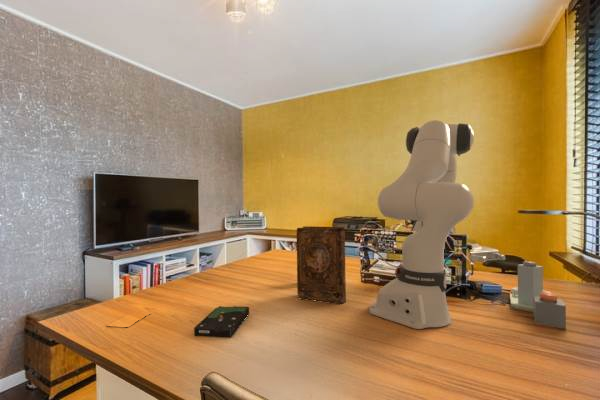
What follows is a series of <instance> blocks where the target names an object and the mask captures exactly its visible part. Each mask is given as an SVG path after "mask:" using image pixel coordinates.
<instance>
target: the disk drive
mask: <svg viewBox="0 0 600 400" xmlns="http://www.w3.org/2000/svg"><path fill="white" fill-rule="evenodd" d="M248 314H249V315H250V307H249V306H222V305H219V306H218V307H216V308H214V309H213V310H212V311H211V312H210V313H208V315H207V316H205V318H203V319H202V320H201V321H200V322H199V323H198V324H197V325H196V326H195V327H194V328H193V333H194V335H195V336H194V337H206V338H207V337H209V338H223V339H225V338H226V339H227V338H229V339H231V338H233V336H235V334H236V332H237V330H238V329H239V328H240V327H241V326H242V324H243V323H244V322H245V320H246V319H247V318H248V316H249V315H248ZM247 315H248V316H247ZM246 317H247V318H246ZM245 318H246V319H245ZM244 319H245V320H244ZM243 321H244V322H243ZM242 322H243V323H242ZM240 325H241V326H240ZM239 326H240V327H239Z"/></svg>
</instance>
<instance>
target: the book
mask: <svg viewBox="0 0 600 400" xmlns="http://www.w3.org/2000/svg"><path fill="white" fill-rule="evenodd" d="M296 265H297V266H296V272H297V273H296V279H297V280H296V281H297V282H296V283H297V286H296V287H297V291H296V292H297V297H298V299H299V298H301V299H300V300H303V299H308V300H307V301H309V300H316V301H315V302H317V301H322V302H321V303H325V302H329V303H328V304H332V303H336V304H335V305H340V304H341V305H344V304H346V302H347V290H346V289H347V287H346V286H347V283H346V277H347V276H346V229H345V227H344V226H309V225H305V226H302V227H297V228H296Z"/></svg>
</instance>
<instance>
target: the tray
mask: <svg viewBox="0 0 600 400" xmlns="http://www.w3.org/2000/svg"><path fill="white" fill-rule="evenodd" d="M509 300H510V302H509V303H510V308H511V309H514V310H519V311H525V312H532V313H533V306H528V305H525V304H522V303H519V302H518V295H514V294H511V293H510V294H509Z"/></svg>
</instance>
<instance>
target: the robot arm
mask: <svg viewBox="0 0 600 400" xmlns="http://www.w3.org/2000/svg"><path fill="white" fill-rule="evenodd" d="M474 142H475V133H474V131H473V129H472V126H471V125H470V124H468V123H462V122H461V123H458V124H457V123H446V122H444V121H442V120H430V121H427V122H425V123H423V125H422V126H416V127H412V128H411V129H409V130H408V132H407V134H406V138H405V147H406V150H407V152H408V153H409V154H410V158H409V161H408V165H407V167H406V169H405V170H404V171H403V172H402V174H401V175H400V176H399V177H397V179H396V180H395V181H394V182H391V184H389V185H386V186H385V187H383V188H382V189H381V190H380V192H379V193H378V198H377V207H378V210H379V212H380V213H381V214H382V216H384V217H385V218H388V219H389V218H390V219H393V220H398V221H413V224H412V227H411V229H410V232H411V231H418V232H415V233H413V234H411V233H410V234H409V235H407V236H406V237H405V238H404V240H403V241H402V245H401V249H402V250H401V251H402V254H401V256H402V263H400V264H398V265H397V267H396V268H395V270H394V275H395V276H396V278H394V279H392V280H391V281H389V282H388V283H386V284H385V285H383V286H382V287H380V289H379V290H378V293H377V297H376V299H375V300H374V301H372V303H371V304H370V305H369V307H368V308H369V310H368V312H369V313H370V314H371V315H374V316H377V317H379V318H383V319H385V320H388V321H391V322H394V323H398V324H399V325H400V324H401V325H403V326H407V327H410V328H412V329H415V330H416V329H417V330H421V329H422V330H423V329H426V328H443V327H446V326H448V325H450V324H451V323H452V317H451V314H450V311H449V307H448V302H447V297H446V290H447V274H446V273H447V271H446V269H445V260H444V249H445V242H446V239H447V237H448V235H449V233H450V231H451V230H452V232H453V233H455V234H456V226H457V225H458V224H459V223H460V222H462V221H464V220H465V219H466V218H468V217H469V215H470V214H471V213H472V211H473V208H474V205H475V200H474V199H475V198H474V195H473V193H472V191H471V190H470V188H469V187H468V186H467V185H466V184H463V183H456V179H457V168H458V167H457V156H458V157H461V155H463V154H464V155H465V154H466V153H468V152H469V151H471V148H472V146H473V145H474ZM467 243H468V244H470V245H471V246H472V249H471V252H470V253H471V255H469V258H470V261H471V260H472V261H473V262H472V263H475V262H477V263H486V262H487V261H505V260H506V256H505V254H501V253H500V250H498V249H497V248H493V247H488V246H484V245H479V243H475V242H474V243H470V242H467ZM449 252H454V251H449ZM454 253H457V254H460V253H459V252H454ZM470 256H471V257H470ZM452 261H455V262H460V259H459V258H458V259H457V260H452Z"/></svg>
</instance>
